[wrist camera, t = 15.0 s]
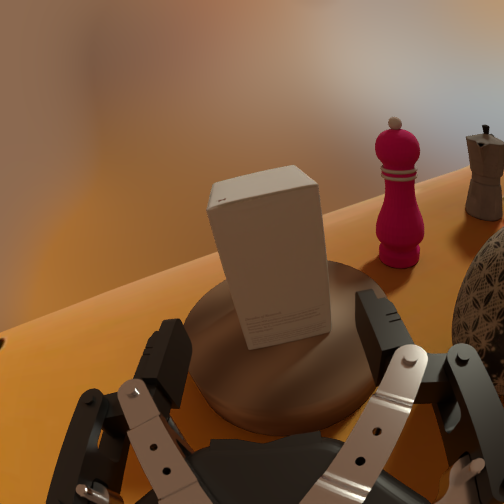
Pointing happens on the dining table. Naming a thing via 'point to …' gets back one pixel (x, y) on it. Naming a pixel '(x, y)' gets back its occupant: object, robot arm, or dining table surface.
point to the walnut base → (282, 364)
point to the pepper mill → (399, 197)
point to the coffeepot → (485, 176)
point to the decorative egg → (484, 309)
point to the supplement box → (273, 254)
